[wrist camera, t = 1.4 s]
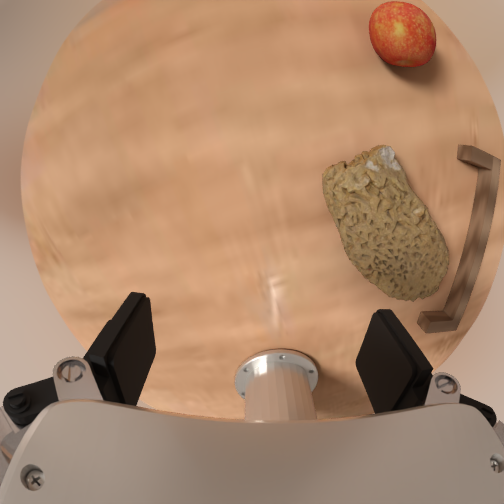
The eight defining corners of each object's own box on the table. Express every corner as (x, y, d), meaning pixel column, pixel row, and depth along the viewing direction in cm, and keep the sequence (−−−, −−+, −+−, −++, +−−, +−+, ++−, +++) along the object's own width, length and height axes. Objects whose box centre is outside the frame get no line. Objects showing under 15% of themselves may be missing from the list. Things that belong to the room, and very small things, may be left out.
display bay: (447, 320, 37) (456, 330, 34) (416, 322, 37) (425, 333, 34) (487, 157, 28) (500, 159, 25) (458, 144, 27) (472, 145, 25)
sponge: (301, 181, 31) (366, 326, 33) (323, 167, 23) (397, 348, 25) (384, 143, 31) (436, 275, 34) (418, 125, 24) (473, 285, 26)
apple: (416, 35, 22) (449, 17, 15) (411, 85, 25) (448, 73, 18) (362, 9, 22) (388, -19, 14) (353, 58, 24) (382, 36, 17)
